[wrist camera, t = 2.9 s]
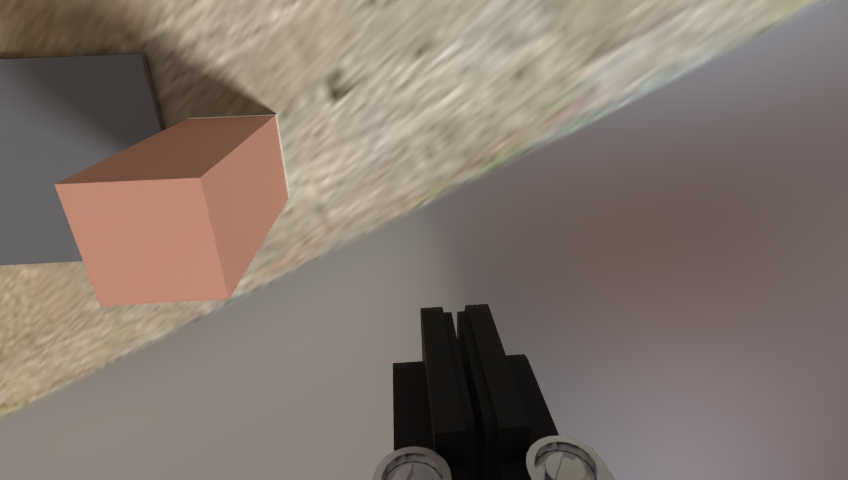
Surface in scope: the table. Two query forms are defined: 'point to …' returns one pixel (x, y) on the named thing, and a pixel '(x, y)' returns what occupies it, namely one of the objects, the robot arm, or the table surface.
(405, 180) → the table surface
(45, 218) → the mat
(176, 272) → the salmon pink block
